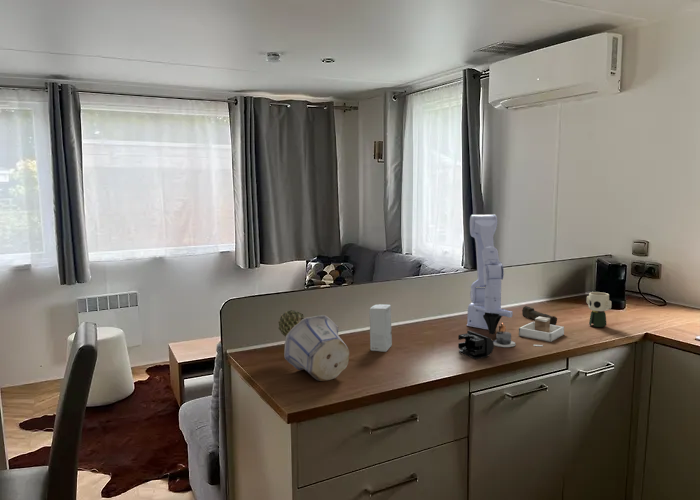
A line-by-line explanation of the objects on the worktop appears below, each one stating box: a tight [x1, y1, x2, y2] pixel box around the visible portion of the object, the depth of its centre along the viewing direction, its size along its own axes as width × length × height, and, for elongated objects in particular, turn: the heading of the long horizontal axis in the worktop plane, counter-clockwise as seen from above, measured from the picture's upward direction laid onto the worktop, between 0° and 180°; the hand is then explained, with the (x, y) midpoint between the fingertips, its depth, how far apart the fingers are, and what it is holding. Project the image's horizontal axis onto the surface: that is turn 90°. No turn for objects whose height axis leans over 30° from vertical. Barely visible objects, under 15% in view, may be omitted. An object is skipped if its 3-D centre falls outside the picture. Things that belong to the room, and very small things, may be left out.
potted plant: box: [278, 309, 350, 382], centre depth 164 cm, size 18×18×30 cm
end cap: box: [457, 330, 495, 360], centre depth 176 cm, size 10×7×7 cm
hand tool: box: [521, 305, 558, 326], centre depth 218 cm, size 19×4×5 cm, turn 18°
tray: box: [518, 321, 565, 342], centre depth 197 cm, size 12×12×3 cm
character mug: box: [586, 291, 612, 328], centre depth 207 cm, size 11×7×13 cm, turn 26°
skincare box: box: [369, 303, 393, 353], centre depth 183 cm, size 8×6×15 cm
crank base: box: [492, 339, 544, 349], centre depth 186 cm, size 17×8×1 cm, turn 78°
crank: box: [495, 321, 512, 344], centre depth 190 cm, size 13×5×5 cm, turn 168°
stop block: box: [534, 316, 550, 333], centre depth 196 cm, size 4×4×6 cm
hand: (492, 333), depth 195 cm, fingers closed
